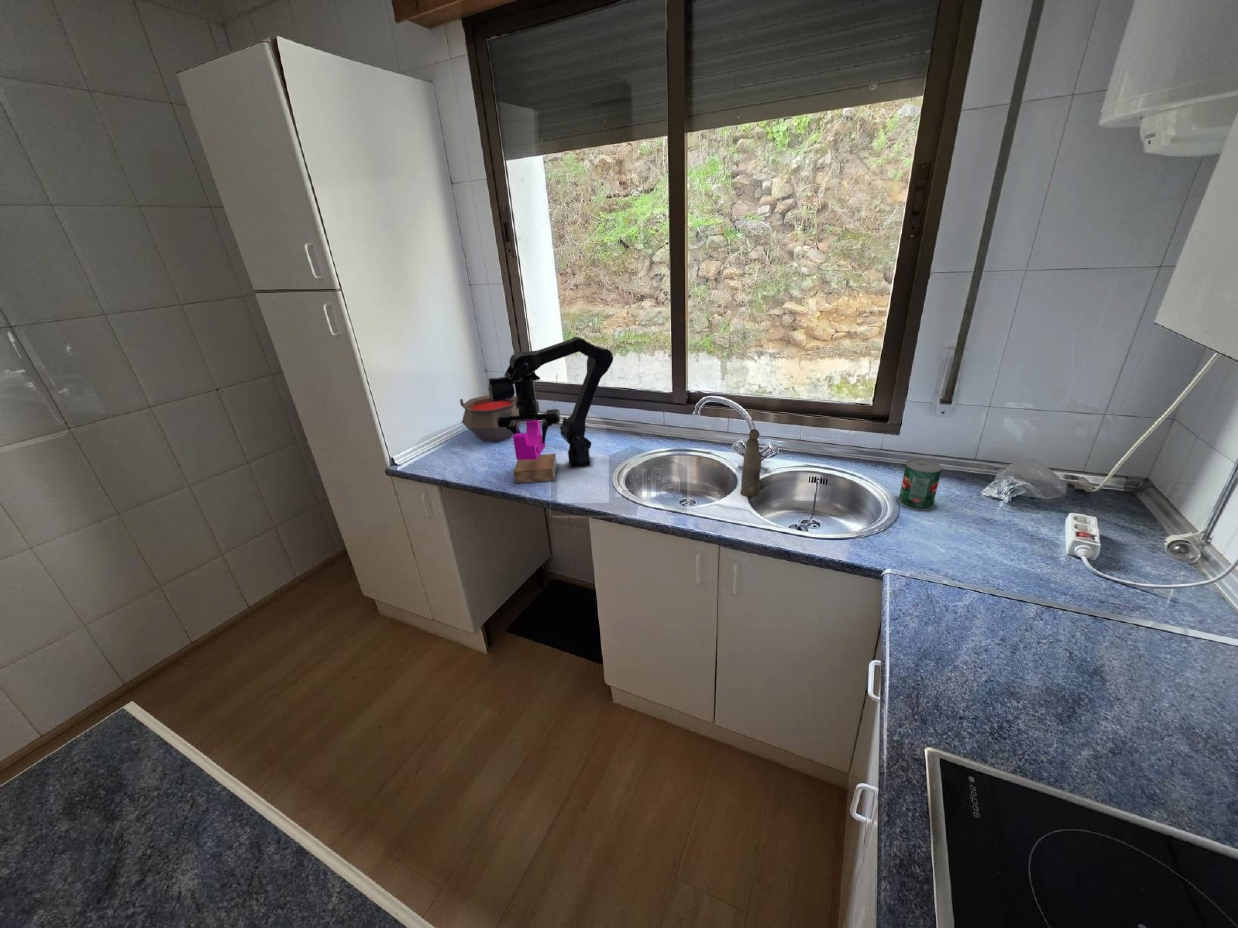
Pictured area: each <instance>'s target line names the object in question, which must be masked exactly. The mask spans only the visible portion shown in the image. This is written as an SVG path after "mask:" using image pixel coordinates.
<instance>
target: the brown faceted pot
mask: <svg viewBox="0 0 1238 928" xmlns="http://www.w3.org/2000/svg"><path fill="white" fill-rule="evenodd" d="M516 399H517V398H516V395H514V397H512V399H508V400H502V401H497V402H492V401H491V398H490V395H489V394H487V395H482V396H478V397H477V396H476V397H473V398H470V399H469V400H467V401H466V402H464V399H462V398H460V399H459V402H460V403H459V404H460V406H461V407H462V408H463V409H464V412H463V417H462V420H461V423H462V424H463V425H464V426H465V427H466V428H467V429H468V430H469V431H470V432H471V433H472V434H473V435H474V436H476V438H478V439H479V440H480V441H482V442H484V443H486V442H487V443H497V442H502V441H504V440H509V439H511V438H513V436H514V434H513V433H512V432H511V431H510V430H509V429H506V427H498V425H497V419H498V417H499V415H500V414H501V413H510V412H512V414H513V416H517V415H519V411H518V409H517V408H516ZM521 422H522V421H521ZM521 422H518V423H519V426H520V424H521Z"/></svg>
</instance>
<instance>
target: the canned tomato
mask: <svg viewBox="0 0 1238 928" xmlns="http://www.w3.org/2000/svg"><path fill="white" fill-rule="evenodd" d="M942 470H943V466H942V465H941V464H940V463H938V462H936V461H934V460H931V459H927V458H926V459H925V458H910V459H908V460H907V461H906V462H905V466H904V471H903V475H902V482H901V487H900V492H899V496H898V503H899V504H900V505H901V506H903V507H905V508H907V509H911V510H914V511H929V510H931V509H933V508H934V503H935V499H936V494H937V491H938V487H939V483H940V478H941V474H942Z"/></svg>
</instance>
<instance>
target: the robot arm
mask: <svg viewBox="0 0 1238 928" xmlns="http://www.w3.org/2000/svg"><path fill="white" fill-rule="evenodd" d="M577 353H581V354H582V355H584V356H586V357H587V359H586V374H585V377H584V379H583V383H582V385H581V387H580V390H579V394H578V396H577V399H576V401H575V404H574V407H573V409H572V413H571V414H570V416H569V417H568V418H567V417H563V418H562V422H561V425H560V427H559V430H560V431H559V432H560V436H561V438H562V439H563V440H564V441H565V442H566V443H567V444H568V445H569V448H568V450H567V456H568V463H569V464H570V465H569V466H570V468H579V467H581V468H582V467H590V466H591V455H590V449H591V447H592V442H591V441H590V440H589V439H588V438H587V437H585V435H586V420H587V416H588V414H589V411H590V409H591V406H592V403H593V400H594V398H595V395H596V393H597V390H598V387H599V384H600V382H601V379H602V377H603V376H605V374H606V373H608V371H609V369H610V368H611V365H612V364H613V361H614V356H613V353H612V351H611V350H609V349H608V348H605V347H602V346H599V345H596V346H595V345H594V344H592V343H590V342H588V341H587V340H586V339H584V338H582V337H581V336H574V337H572V338H570V339H567V340H565V341H562V342H561V341H560V342H558V343H555V344H553V345H549V346H547V347H543V348H541V349H538V350H537V349H536V350H526V351H518V352H515V353H513V354H511V356H510V358H509V365H508V367H507V369H506V371H505V373H504V375H503V376H500V377H490V378H488V388H487V390H488V395H490V398H491V401H492V402H497V401H502V400H508V399H512V397H514V396H516V398H517V399H516V408H517V409H518V411H519V415H517V416H513V414H512V412H510V413H501V414H500V415H499V417H498V419H497V425H498V427H506V429H509V430H510V431H511V432H512V433H513V434H514V435H515V434H516V433H521V429H520V425H519V423H518V422H526V421H536V420H539V421H542V423H541V436H542V441H543V444H544V443H545V444H546V439H547V438H546V437H547V432H548V429H549V427H553V424H559V423H560V421H561V411H560V410H559V409H558V408H555V409H546V412H545V413H540V401H539V400H537V397H536V388H535V382H536V381H540V380H541V377H540V376H539V375H537V374H536V373H535V371H537V370H538V369H539V368H541V367H542V366H543V365H546V364H548V363H551V362H555V361H557V360H560V359H563V358H565V357H569V356H570V355H574V354H577ZM534 381H535V382H534ZM514 435H513V436H514Z"/></svg>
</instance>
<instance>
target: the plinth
mask: <svg viewBox="0 0 1238 928" xmlns="http://www.w3.org/2000/svg"><path fill="white" fill-rule="evenodd" d="M514 466H515V467H514V470H513V478H514V483H515V484H521V483H522V484H524V483H536V482H537V483H539V482H552V481H555V477H556V471H557V455H556V453H547V454H546V453H545V454H540V455H539V457H538V458H537V460H517V461H516V463H515V465H514Z"/></svg>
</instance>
